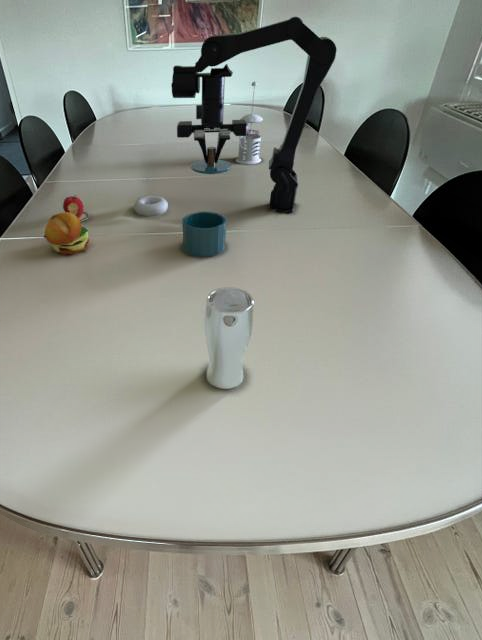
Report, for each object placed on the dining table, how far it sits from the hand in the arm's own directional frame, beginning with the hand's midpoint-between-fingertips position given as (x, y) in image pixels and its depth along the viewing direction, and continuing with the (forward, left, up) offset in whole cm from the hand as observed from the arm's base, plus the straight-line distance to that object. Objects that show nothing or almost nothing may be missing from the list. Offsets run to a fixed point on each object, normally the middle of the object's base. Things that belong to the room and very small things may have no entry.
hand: (211, 163), depth 114 cm
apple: (+34, +21, -12) cm, 42 cm away
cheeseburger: (+25, +38, -12) cm, 47 cm away
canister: (-7, +27, -12) cm, 30 cm away
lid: (0, 0, -1) cm, 1 cm away
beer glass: (-25, +70, -12) cm, 75 cm away
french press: (0, -46, -12) cm, 48 cm away
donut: (+15, +10, -12) cm, 22 cm away
